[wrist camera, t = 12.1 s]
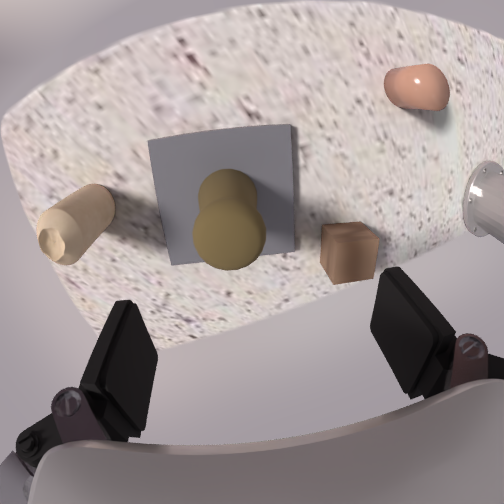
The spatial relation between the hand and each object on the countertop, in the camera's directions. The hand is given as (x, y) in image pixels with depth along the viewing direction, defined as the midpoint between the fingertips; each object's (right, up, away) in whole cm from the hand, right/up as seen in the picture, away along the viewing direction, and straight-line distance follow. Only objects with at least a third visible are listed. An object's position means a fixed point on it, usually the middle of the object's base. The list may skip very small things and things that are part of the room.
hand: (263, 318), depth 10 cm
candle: (-18, +8, +18) cm, 26 cm away
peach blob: (+17, +21, +14) cm, 31 cm away
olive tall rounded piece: (-3, +8, +18) cm, 20 cm away
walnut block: (+10, +4, +23) cm, 25 cm away
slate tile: (-3, +8, +19) cm, 21 cm away
